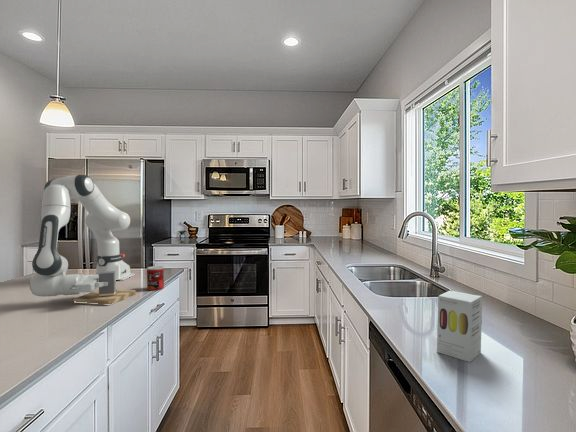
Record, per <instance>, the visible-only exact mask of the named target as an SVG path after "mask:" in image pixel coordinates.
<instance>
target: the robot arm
mask: <svg viewBox="0 0 576 432" xmlns="http://www.w3.org/2000/svg"><path fill="white" fill-rule="evenodd" d="M43 190H44V192H43V195H42V200H41V213H40V214H41V224H40V225H41V226H40V230H39V231H40V232H39V242H38V248H37V251H36V253H35V255H34V257H33V259H32V261H31V262H32V263H31V264H32V265H31V266H32V269H33V271H34V272H35V275H34V276H33V277H32V278H30V280H29V290H30V291H31V293H32V294H33V295H34V296H37V297H57V296H61V295H62V296H70V295H71V296H72V295H73V296H75V295H79V294H81V293H91V292H94V291H96V289H97V288H99V287H103V286H108V281H105V282H99V273H100V272H107V271H115V282H117V281H116V280H120V281H125V280H128V279H129V277H130V278H132V277H134V276H135V275H136V273H134V272H131V266H130V265H129V264H128V263H126V262H125V261H124V260H123V258H125V256H126V255H125V253H121V252H120V250H121V249H120V240H119V239H118V238H117V237H115V236H114V234H113V233H112V231H113V232H114V231H116V232H117V231H123V230H127V229H128V228H129V227H130V224H131V217H130V215H129V214H128V213H127V212H125V211H122V210H120V209H119V208H117V207H116V206H114V205H113V204H112V203H111V202H110V201H109V200H108V199H107V198H106V197H105V196H104V195H103V193H102V192H101V190H100V189H99V188H98V186H97V185H96V184H95V182H94V181H93V179H92V178H91V177H90V176H88V175H86V174H75V175H66V176H63V177H59V178H53V179H49V180H47V182H45V184H44V188H43ZM73 199H77V200H78V201H79V202H80V204H81V205H82V206H83V208H84V209H85V211H86V212H87V213H88V214H87V215H86V216H85V219H84V220H85V221H84V222H85V226H86V227H87V228H88V229H89V230H90V231H91V232H92V233H93V235H94V238H95V240H96V245H97V256H96V262H97V264H96V268H95V274H84V273H73V274H72V273H71V274H67V272H68V270H69V261H68V259H67V258H66V257H65V256H63V255H61V254H59V252H58V242H59V241H58V238H59V232H60V230H61V229H62V228H63V227H65V226H66V225H67V224H68V223H69V221H70V217H71V211H72V209H71V207H72V206H71V200H73Z"/></svg>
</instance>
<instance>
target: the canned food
mask: <svg viewBox="0 0 576 432" xmlns="http://www.w3.org/2000/svg"><path fill="white" fill-rule="evenodd" d="M164 273H165V271H164V266H162V265H154V266H148V267H146V287H147V290H148V291H151V292H152V291H161V290H163V289H164V287H165V282H164V281H165V279H164V277H165V275H164Z"/></svg>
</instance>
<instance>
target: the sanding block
mask: <svg viewBox="0 0 576 432" xmlns="http://www.w3.org/2000/svg"><path fill="white" fill-rule="evenodd" d="M105 281H108V286H103V287H98V290H99V296H108V295H114V294H115V293H116V281H115V271H107V272H100V273H99V282H105Z"/></svg>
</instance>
